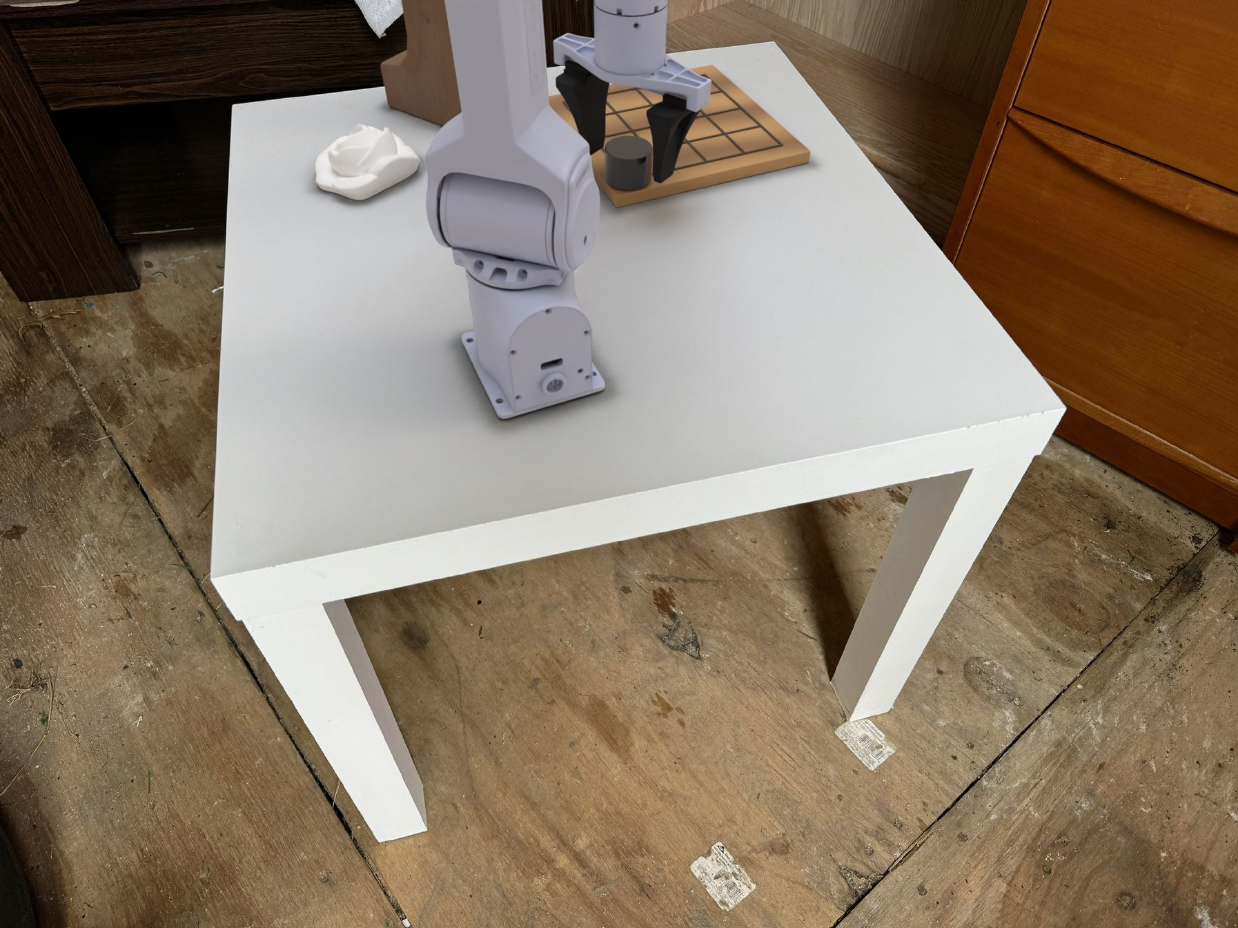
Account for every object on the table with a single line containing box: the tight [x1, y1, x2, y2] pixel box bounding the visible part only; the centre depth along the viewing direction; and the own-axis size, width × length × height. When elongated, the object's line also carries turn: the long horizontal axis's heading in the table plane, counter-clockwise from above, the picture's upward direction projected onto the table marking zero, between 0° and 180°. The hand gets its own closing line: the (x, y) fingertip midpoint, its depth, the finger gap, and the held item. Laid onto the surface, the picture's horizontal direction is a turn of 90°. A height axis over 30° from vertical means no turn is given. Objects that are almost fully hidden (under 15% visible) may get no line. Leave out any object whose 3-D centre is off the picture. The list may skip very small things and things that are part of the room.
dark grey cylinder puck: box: [605, 136, 653, 191], centre depth 78 cm, size 4×4×3 cm
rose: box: [314, 123, 421, 201], centre depth 80 cm, size 10×4×10 cm
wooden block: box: [380, 0, 462, 127], centre depth 84 cm, size 9×4×18 cm, turn 56°
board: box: [549, 64, 811, 208], centre depth 87 cm, size 20×20×1 cm
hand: (628, 164), depth 78 cm, fingers open, 7 cm apart
